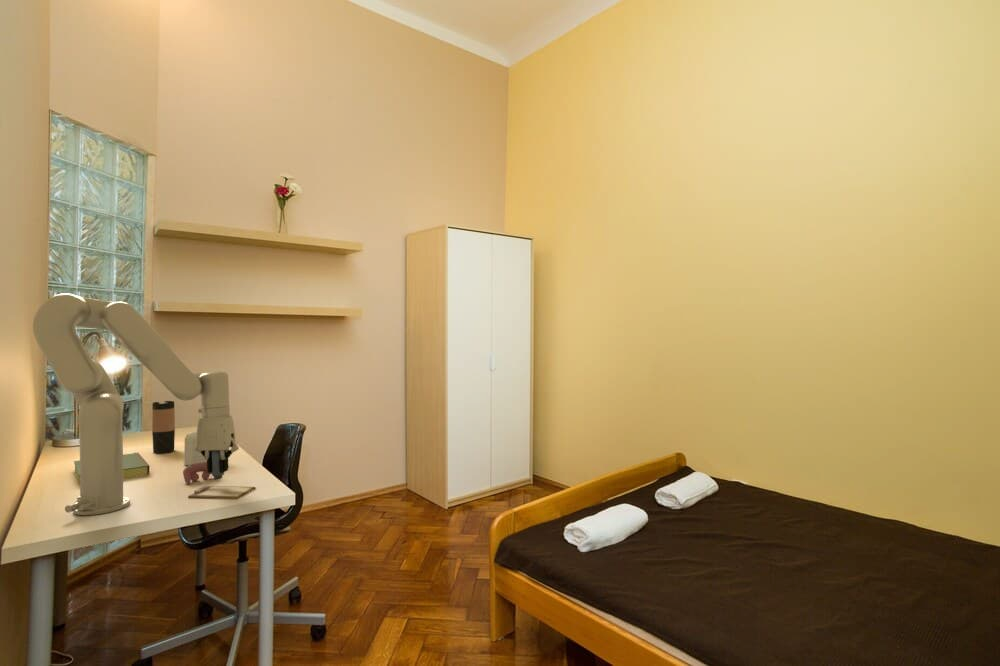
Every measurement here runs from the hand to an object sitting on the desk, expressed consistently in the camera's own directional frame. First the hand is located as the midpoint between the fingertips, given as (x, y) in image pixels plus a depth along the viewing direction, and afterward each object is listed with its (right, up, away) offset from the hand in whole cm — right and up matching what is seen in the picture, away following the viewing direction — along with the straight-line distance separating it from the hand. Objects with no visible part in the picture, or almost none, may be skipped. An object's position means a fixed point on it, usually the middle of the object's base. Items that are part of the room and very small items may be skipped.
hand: (217, 471), depth 161 cm
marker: (0, -2, 0) cm, 2 cm away
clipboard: (+3, -6, -3) cm, 7 cm away
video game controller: (-11, -6, +11) cm, 17 cm away
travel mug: (-49, -6, +50) cm, 70 cm away
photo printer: (-23, -6, +31) cm, 40 cm away
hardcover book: (-48, -7, +20) cm, 52 cm away
